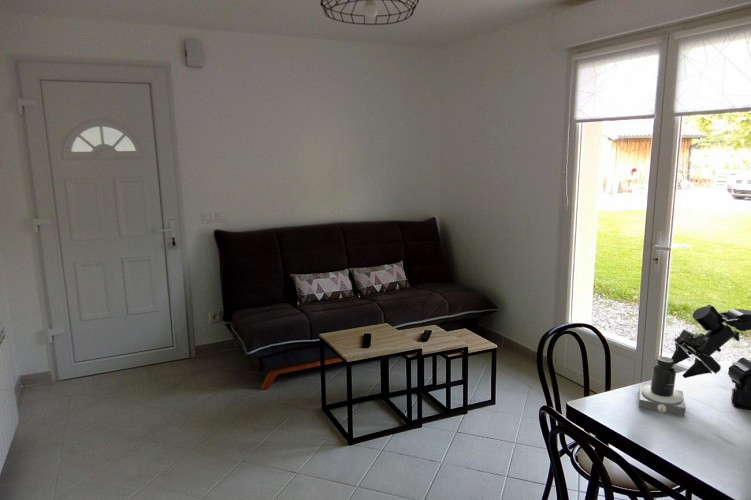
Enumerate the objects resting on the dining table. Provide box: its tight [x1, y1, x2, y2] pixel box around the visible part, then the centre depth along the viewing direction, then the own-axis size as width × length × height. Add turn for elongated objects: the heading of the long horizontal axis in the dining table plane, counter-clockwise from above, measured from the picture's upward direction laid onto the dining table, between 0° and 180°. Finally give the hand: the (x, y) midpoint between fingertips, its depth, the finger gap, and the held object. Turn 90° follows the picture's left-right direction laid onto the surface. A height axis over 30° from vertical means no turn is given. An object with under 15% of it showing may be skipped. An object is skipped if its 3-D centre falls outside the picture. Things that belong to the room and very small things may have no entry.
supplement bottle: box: [650, 356, 677, 397], centre depth 173 cm, size 7×7×12 cm
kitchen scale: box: [638, 383, 686, 418], centre depth 174 cm, size 13×14×4 cm
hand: (676, 370), depth 173 cm, fingers open, 9 cm apart
